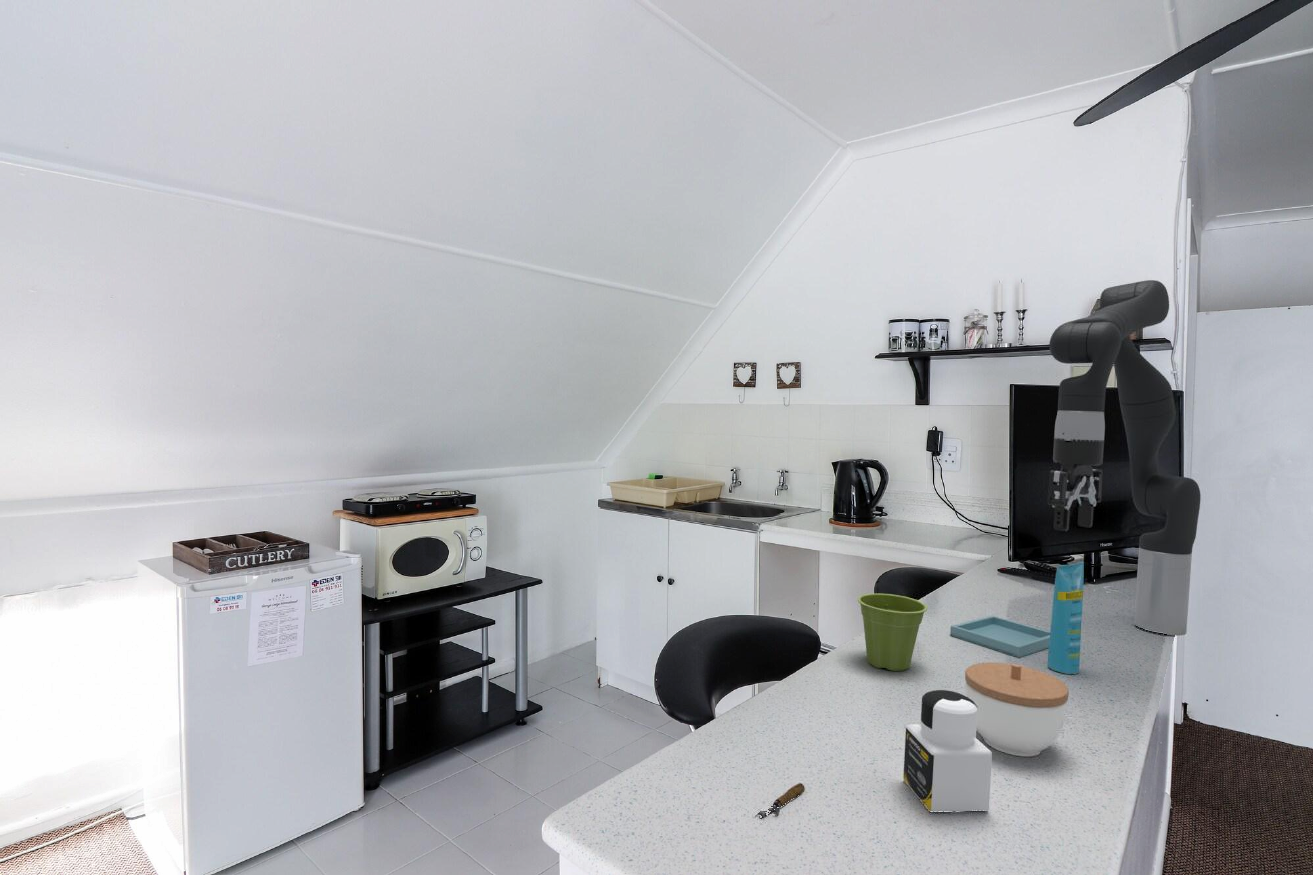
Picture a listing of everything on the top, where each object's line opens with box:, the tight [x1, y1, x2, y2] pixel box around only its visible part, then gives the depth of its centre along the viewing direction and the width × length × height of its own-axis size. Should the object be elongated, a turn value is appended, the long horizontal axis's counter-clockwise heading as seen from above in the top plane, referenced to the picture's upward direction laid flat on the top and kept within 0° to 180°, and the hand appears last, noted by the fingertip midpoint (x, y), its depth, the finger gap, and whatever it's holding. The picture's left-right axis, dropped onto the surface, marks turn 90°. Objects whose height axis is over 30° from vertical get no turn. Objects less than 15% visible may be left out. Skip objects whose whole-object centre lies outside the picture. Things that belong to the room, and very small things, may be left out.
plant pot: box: [857, 593, 929, 672], centre depth 125 cm, size 12×12×11 cm
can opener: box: [758, 782, 806, 818], centre depth 80 cm, size 9×2×1 cm, turn 130°
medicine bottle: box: [903, 689, 993, 812], centre depth 83 cm, size 7×7×12 cm
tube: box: [1047, 561, 1085, 675], centre depth 125 cm, size 7×5×19 cm, turn 124°
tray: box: [949, 615, 1050, 659], centre depth 141 cm, size 15×14×2 cm
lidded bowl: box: [964, 662, 1069, 758], centre depth 96 cm, size 13×13×11 cm
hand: (1073, 528), depth 124 cm, fingers open, 8 cm apart
